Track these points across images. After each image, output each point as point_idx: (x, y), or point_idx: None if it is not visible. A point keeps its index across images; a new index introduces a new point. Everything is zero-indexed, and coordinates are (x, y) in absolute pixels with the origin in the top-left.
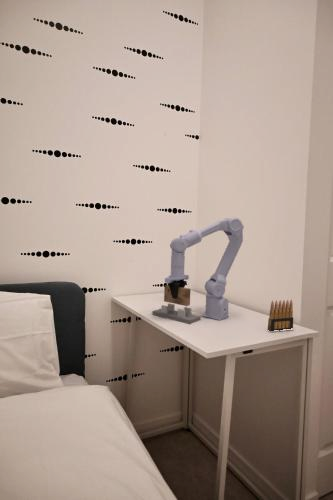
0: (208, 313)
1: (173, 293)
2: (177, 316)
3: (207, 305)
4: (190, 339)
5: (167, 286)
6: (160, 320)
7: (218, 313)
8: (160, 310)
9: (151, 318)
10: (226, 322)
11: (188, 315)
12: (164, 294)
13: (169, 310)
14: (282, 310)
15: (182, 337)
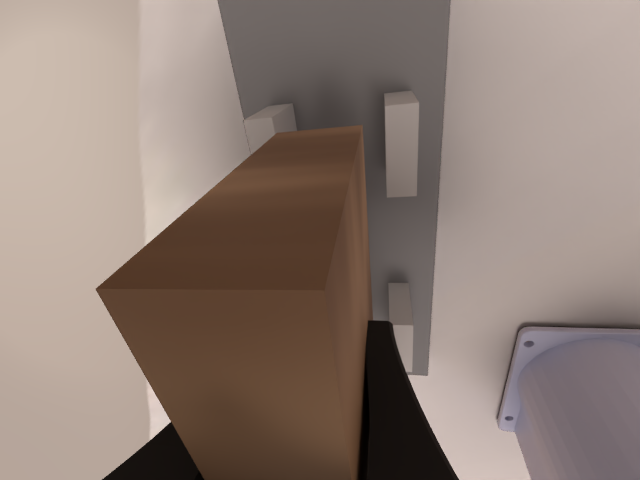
0: (528, 390)
1: None
2: None
3: (562, 443)
4: (166, 420)
5: (160, 377)
6: (195, 195)
7: (527, 450)
8: (314, 36)
9: (158, 106)
10: (483, 446)
11: (384, 318)
12: (237, 173)
13: (384, 122)
14: None
15: (151, 398)
